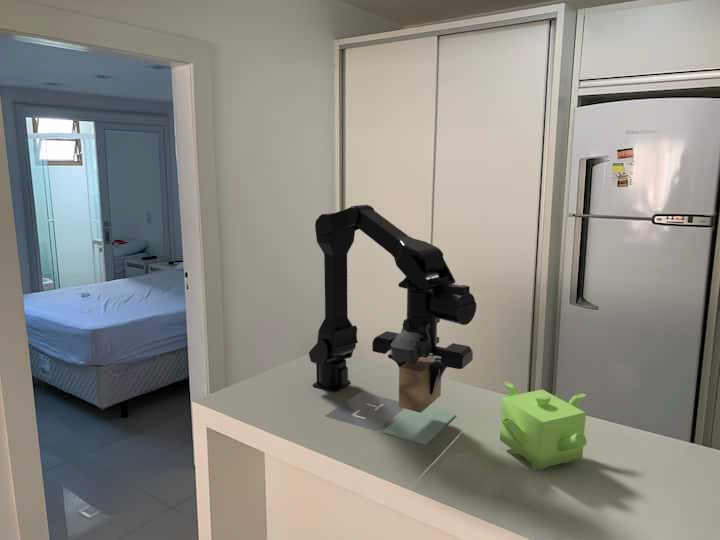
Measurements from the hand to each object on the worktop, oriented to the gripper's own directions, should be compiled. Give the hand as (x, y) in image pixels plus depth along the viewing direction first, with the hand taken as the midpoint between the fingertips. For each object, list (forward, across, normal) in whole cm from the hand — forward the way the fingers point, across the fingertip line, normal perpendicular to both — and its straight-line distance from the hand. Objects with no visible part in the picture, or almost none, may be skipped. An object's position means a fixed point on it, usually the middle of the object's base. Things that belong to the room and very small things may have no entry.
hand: (420, 391), depth 109 cm
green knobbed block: (+7, +23, +1) cm, 24 cm away
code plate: (+7, -12, 0) cm, 14 cm away
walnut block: (+2, 0, 0) cm, 2 cm away
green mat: (+7, 0, 0) cm, 7 cm away
